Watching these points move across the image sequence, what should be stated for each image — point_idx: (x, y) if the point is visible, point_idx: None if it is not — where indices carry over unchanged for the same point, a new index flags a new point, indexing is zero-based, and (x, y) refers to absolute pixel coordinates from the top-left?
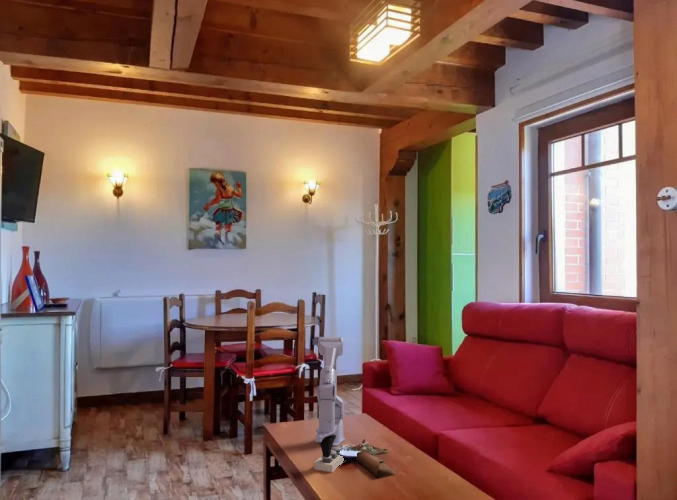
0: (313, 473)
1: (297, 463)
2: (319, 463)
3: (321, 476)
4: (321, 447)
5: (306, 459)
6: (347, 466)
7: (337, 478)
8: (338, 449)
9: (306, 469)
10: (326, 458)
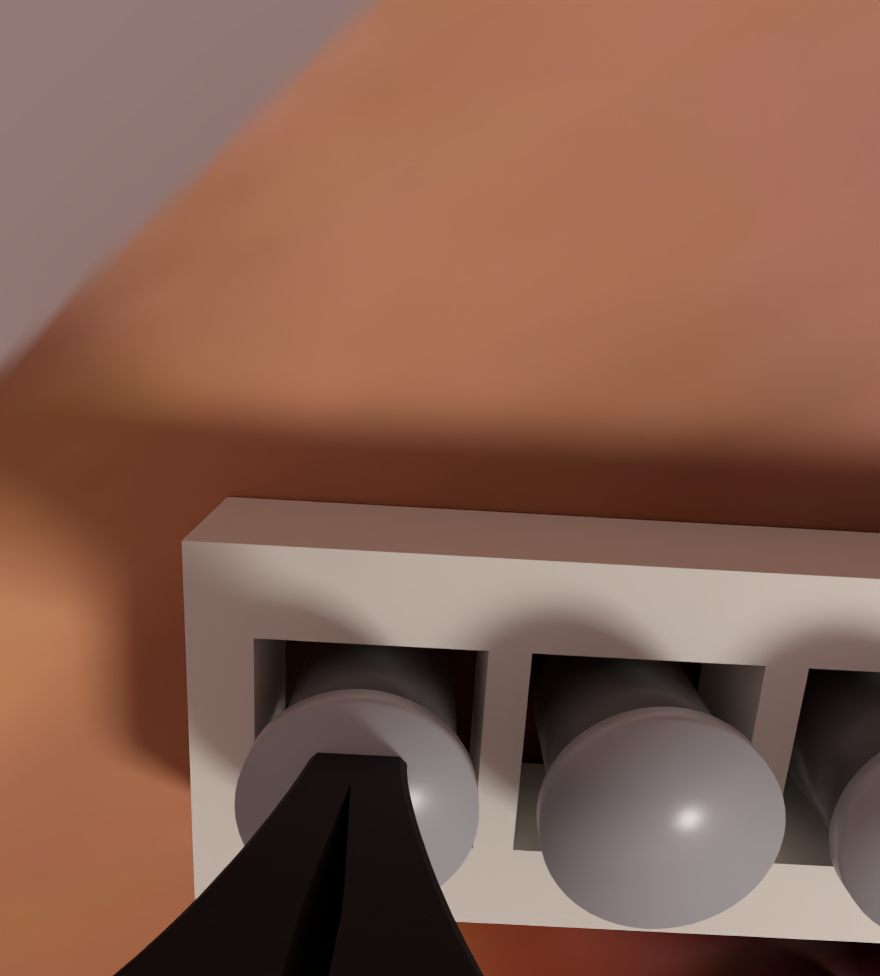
0: (59, 551)
1: (395, 29)
2: (186, 659)
3: (10, 713)
4: (190, 916)
5: (681, 135)
6: (557, 936)
7: (58, 938)
8: (874, 915)
9: (171, 359)
10: (247, 839)
